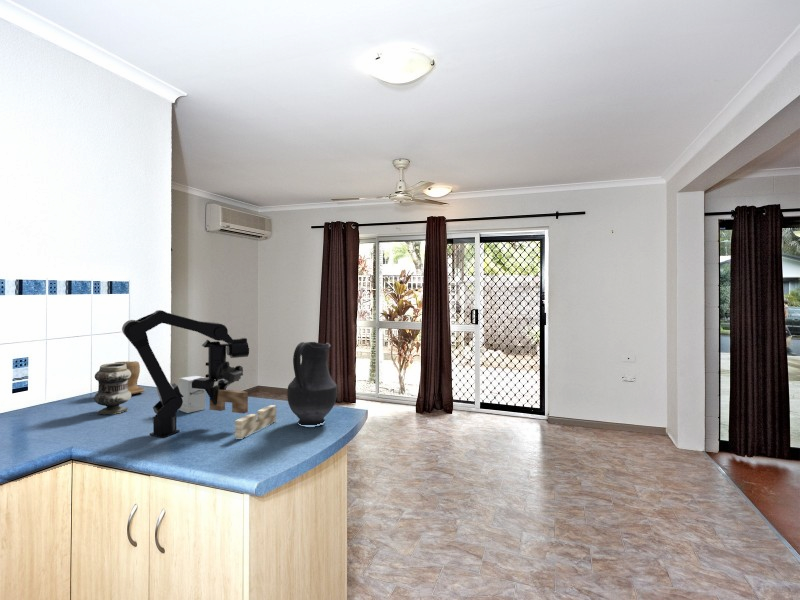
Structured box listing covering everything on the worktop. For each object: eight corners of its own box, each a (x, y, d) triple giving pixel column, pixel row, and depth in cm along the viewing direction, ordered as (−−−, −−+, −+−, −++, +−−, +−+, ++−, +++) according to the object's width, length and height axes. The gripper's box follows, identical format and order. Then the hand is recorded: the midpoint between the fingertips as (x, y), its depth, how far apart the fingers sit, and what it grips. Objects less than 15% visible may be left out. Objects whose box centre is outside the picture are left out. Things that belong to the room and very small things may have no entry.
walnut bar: (247, 411, 156) (247, 391, 156) (244, 413, 154) (244, 393, 154) (213, 408, 160) (213, 388, 160) (209, 409, 159) (209, 389, 158)
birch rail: (241, 440, 144) (241, 421, 144) (235, 439, 145) (235, 420, 145) (276, 422, 163) (276, 405, 163) (270, 421, 164) (270, 404, 164)
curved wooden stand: (134, 390, 209) (134, 357, 208) (149, 393, 202) (148, 360, 202) (98, 396, 196) (98, 362, 195) (113, 400, 189) (112, 364, 189)
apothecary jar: (118, 416, 168) (118, 367, 167) (86, 415, 168) (85, 367, 167) (138, 407, 180) (137, 362, 179) (108, 407, 180) (107, 361, 179)
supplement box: (187, 413, 172) (187, 380, 172) (178, 410, 177) (178, 377, 177) (206, 409, 178) (206, 377, 178) (196, 406, 183) (196, 375, 182)
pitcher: (343, 419, 168) (344, 338, 167) (319, 437, 148) (319, 345, 147) (301, 414, 173) (302, 336, 172) (271, 431, 153) (272, 342, 152)
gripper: (218, 365, 147) (218, 413, 147) (253, 356, 165) (253, 399, 165) (190, 363, 150) (190, 410, 151) (227, 354, 168) (227, 396, 169)
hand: (217, 403), depth 159 cm, fingers closed on walnut bar, 2 cm apart
